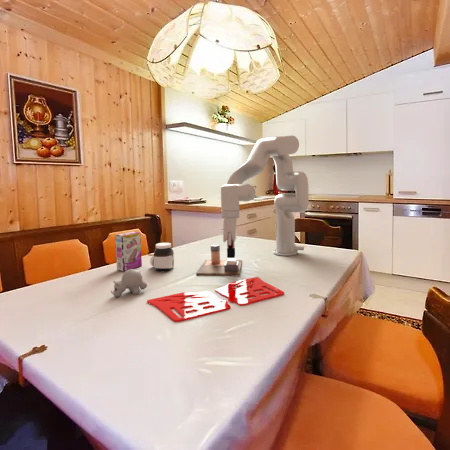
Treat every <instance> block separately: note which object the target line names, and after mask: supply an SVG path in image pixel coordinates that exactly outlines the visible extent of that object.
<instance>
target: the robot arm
mask: <svg viewBox="0 0 450 450" xmlns="http://www.w3.org/2000/svg"><path fill="white" fill-rule="evenodd" d="M299 147H300V142H299V139H298V137H297V136H295V135H285V136H271V137H263V138H260V139H258V140H257V141H256V143H254V146H253V148H252V150H251V152H250V154H249V155H248V157H247V160H246V162H245V163H243V164H242V165H241V166H239V168H237V169H236V170H235V171H234V172H233V173H232V174H231V175H230V176H229V178H228V180H227V182H226V183H225V184H223V185H222V186H221V187H220V204H221V205H220V209H221V211H220V212H221V214H220V216H221V219H223V231H222V233H223V234H222V236H223V237H222V238H223V239H222V241H223V243H226V244H227V245H226V247H227V248H226V257H227V259H235V257H236V248H235V242H236V241H237V240H236V239H237V234H238V233H237V232H238V230H237V229H238V227H237V225H238V224H237V222H238V220H237V219H239V218H240V202H251V201H252V200H253V199H254V198H255V196H256V189H255V186H253V185H252V184H249V183H244V182H246V181H247V180H249V179H252V178H254V177H256V176H258V175H260V174H262V173H263V171H264V169H265V167H266V165H267V163H268V161H269V159H270V158H272V159H273V161H274V164H275V179H276V188H277V189H278V190H279V191H288V192H282V193H279V194H277V195H275V197H274V202H273V203H274V208H275V209H274V211H275V216H276V217H275V218H276V219H275V220H276V223H275V225H276V227H275V228H276V231H275V232H276V233H275V234H276V238H275V239H276V243H275V244H276V246H275V247H276V248H275V249H274V250H273V254H274V255H276V256H283V257H284V256H286V257H289V256H291V257H292V256H296V255H297V254H299V253H298V251H304V250H305V246H301V245H296V244H295V243H296V230H295V229H296V226H295V225H296V220H295V216H294V215H293V213H305V212H306V211H307V210H308V208H309V203H310V202H309V197H310V196H309V178H308V176H307V174H306V173H305V172H304V171H296V170H295V171H294V167H293V159H292V157H291V156H290V155H293V154H296V153H297V152H298V150H299ZM289 191H291V192H292V193H291V192H289ZM293 191H295V193H293Z"/></svg>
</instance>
